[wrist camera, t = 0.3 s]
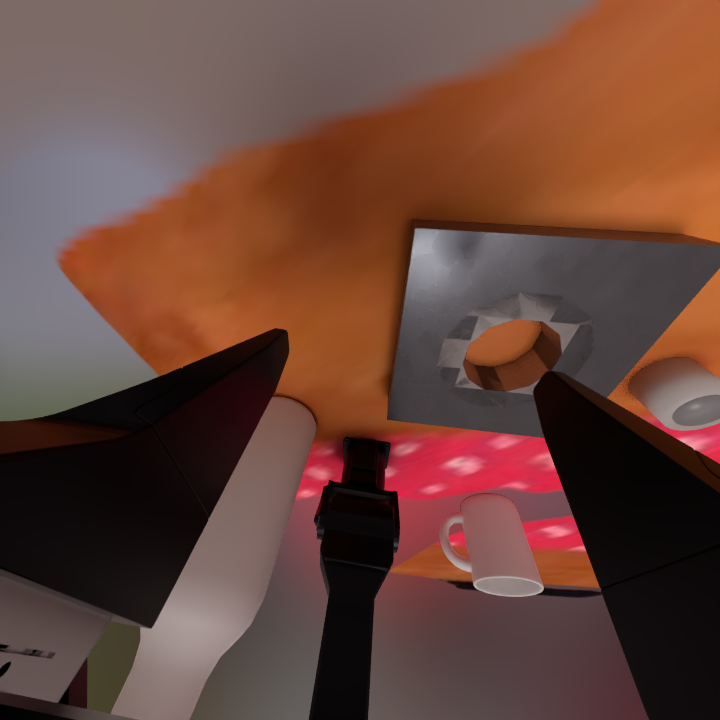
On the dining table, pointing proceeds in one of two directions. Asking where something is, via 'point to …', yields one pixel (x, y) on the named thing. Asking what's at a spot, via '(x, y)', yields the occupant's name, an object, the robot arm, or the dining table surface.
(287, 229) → the dining table surface
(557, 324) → the dark grey square base
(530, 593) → the mug
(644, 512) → the robot arm
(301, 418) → the alcohol
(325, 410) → the dining table surface
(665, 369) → the cap
